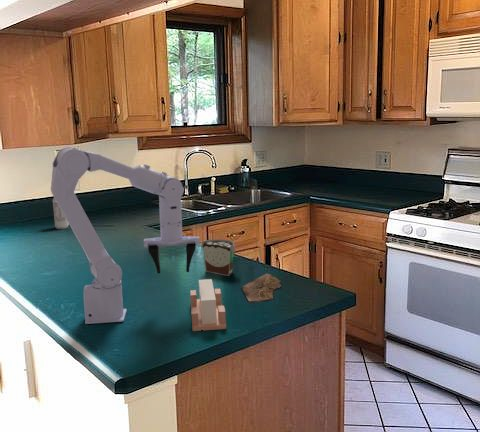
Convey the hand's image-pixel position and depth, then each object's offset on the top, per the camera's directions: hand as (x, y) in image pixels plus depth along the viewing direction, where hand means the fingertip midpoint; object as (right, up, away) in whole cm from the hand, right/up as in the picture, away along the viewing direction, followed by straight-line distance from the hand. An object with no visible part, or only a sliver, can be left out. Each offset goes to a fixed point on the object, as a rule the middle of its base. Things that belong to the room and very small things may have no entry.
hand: (173, 271), depth 142 cm
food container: (+12, -3, +31) cm, 33 cm away
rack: (+9, -10, -6) cm, 15 cm away
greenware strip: (+10, -10, -6) cm, 15 cm away
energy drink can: (-65, +9, +104) cm, 122 cm away
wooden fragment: (+24, -7, +14) cm, 29 cm away
